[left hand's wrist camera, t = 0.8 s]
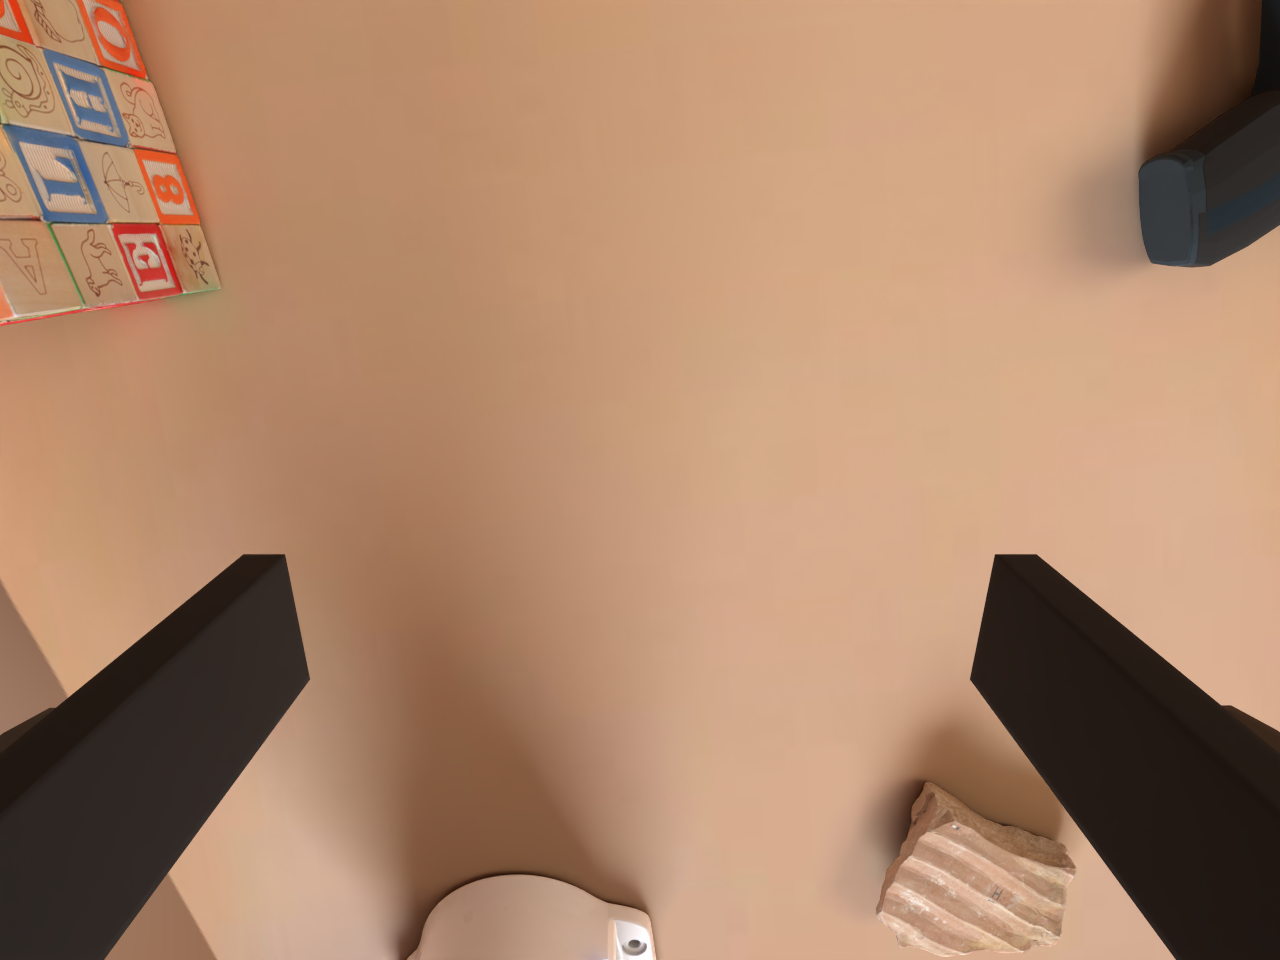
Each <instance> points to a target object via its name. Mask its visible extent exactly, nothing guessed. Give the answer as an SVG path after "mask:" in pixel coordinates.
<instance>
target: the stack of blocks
mask: <svg viewBox="0 0 1280 960" xmlns="http://www.w3.org/2000/svg"><path fill="white" fill-rule="evenodd" d="M218 289H221V283H220V281H219V278H218V275H217V272H216V269H215V266H214V263H213V260H212V258H211V255H210V252H209V249H208V246H207V243H206V240H205V237H204V234H203V232H202V229H201V227H200V218H199V215H198V212H197V209H196V206H195V204H194V201H193V198H192V195H191V192H190V189H189V186H188V183H187V181H186V178H185V175H184V172H183V169H182V167H181V164H180V161H179V158H178V157H177V155H176V150H175V146H174V143H173V140H172V137H171V134H170V131H169V128H168V126H167V123H166V120H165V117H164V114H163V111H162V108H161V105H160V103H159V100H158V97H157V94H156V91H155V89H154V86H153V84H152V83H151V82H150V81H149V80H148V77H147V75H146V70H145V66H144V64H143V62H142V60H141V57H140V54H139V52H138V49H137V45H136V42H135V39H134V37H133V34H132V31H131V28H130V25H129V23H128V20H127V17H126V14H125V11H124V8H123V6H122V5H121V3H120V2H119V0H0V326H2V325H7V324H12V323H20V322H26V321H32V320H38V319H43V318H49V317H54V316H61V315H66V314H72V313H79V312H86V311H92V310H100V309H106V308H112V307H118V306H124V305H130V304H136V303H143V302H149V301H154V300H160V299H162V298H166V297H172V296H179V295H185V294H192V293H198V292H204V291H211V290H218Z"/></svg>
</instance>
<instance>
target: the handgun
mask: <svg viewBox="0 0 1280 960" xmlns="http://www.w3.org/2000/svg"><path fill="white" fill-rule="evenodd" d="M1139 204H1140V218H1141V228H1142V235H1143V240H1144V245H1145V248H1146V251H1147V254H1148V257H1149V259H1150V261H1151V262H1152V263H1154V264H1161V265H1167V266H1180V267H1202V266H1211V265H1212V264H1214V263H1216V262H1218V261H1220V260H1222V259H1224V258H1226V257H1228V256H1230V255H1232V254H1234V253H1236V252H1238V251H1240V250H1241V249H1243V248H1245V247H1247V246H1249V245H1250V244H1252V243H1253V242H1255V241H1256V240H1258V239H1259V238H1261V237H1262V236H1264V235H1265V234H1267V233H1268V232H1270V231H1271V230H1273V229H1274V228H1276V227H1277V226H1279V225H1280V0H1262V18H1261V37H1260V57H1259V66H1258V71H1257V76H1256V80H1255V85H1254V86H1253V89H1252V92H1251V96H1250V97H1248V98H1247V99H1246V100H1245V101H1244V102H1242V103H1240V104H1239V105H1237V106H1235V107H1233V108H1232V109H1230V110H1228V111H1227V112H1225V113H1223V114H1222V115H1220V116H1219V117H1218V118H1216V119H1215V120H1213V121H1212V122H1211V123H1209V124H1208V125H1206V126H1205V127H1204V128H1202V129H1201V130H1199V131H1198V132H1197V133H1195V134H1194V135H1192V136H1191V137H1189V138H1188V139H1187V140H1185V141H1184V142H1182V143H1181V144H1180V145H1178V146H1177V147H1175V148H1174V149H1173V150H1172V151H1170V152H1169V153H1165V154H1160V155H1157V156H1155V157H1153V158H1151V159H1149V160H1147V161H1146V162H1145V163H1144V164H1143V165H1142V166H1141V168H1140V170H1139Z"/></svg>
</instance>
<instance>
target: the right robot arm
mask: <svg viewBox="0 0 1280 960" xmlns="http://www.w3.org/2000/svg"><path fill="white" fill-rule="evenodd" d="M406 960H656V953H655V947H654V941H653V934H652V928H651V922H650V918H649V916H648V915H647V914H646V913H645V912H643V911H641V910H638V909H635V908H631V907H627V906H622V905H617V904H611V903H607V902H604V901H602V900H600V899H598V898H596V897H594V896H592V895H591V894H589V893H587V892H585V891H584V890H582V889H580V888H578V887H576V886H573V885H571V884H568V883H565V882H563V881H559V880H556V879H552V878H547V877H542V876H535V875H502V876H495V877H489V878H485V879H481V880H478V881H475V882H472V883H469V884H467V885H465V886H463V887H461V888H459V889H457V890H455V891H453V892H452V893H450V894H449V895H447V896H446V897H445V898H444V899H443V900H441V901H440V902H439V903H438V904H437V905H436V907H435V908H434V909H433V910H432V912H431V913H430V915H429V916H428V918H427V920H426V922H425V925H424V928H423V932H422V936H421V941H420V944H419V946H418V948H417V949H416V950H415V951H414V952H413V953H412V954H411V955H410V956H409V957H408V958H407V959H406Z"/></svg>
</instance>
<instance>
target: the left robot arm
mask: <svg viewBox="0 0 1280 960" xmlns="http://www.w3.org/2000/svg"><path fill="white" fill-rule="evenodd" d="M309 680H310V677H309V672H308V667H307V662H306V657H305V652H304V647H303V642H302V637H301V632H300V627H299V622H298V617H297V612H296V607H295V602H294V597H293V592H292V587H291V582H290V577H289V572H288V567H287V562H286V557H285V554H243V555H242V556H241V557H240V558H239V559H237V560H236V561H235V562H234V563H232V564H231V565H230V566H229V567H228V568H226V569H225V570H224V571H223V572H221V573H220V574H219V575H218V576H217V577H215V578H214V579H213V580H212V581H210V582H209V583H208V584H207V585H206V586H204V587H203V588H202V589H201V590H199V591H198V592H197V593H196V594H195V595H193V596H192V597H191V598H190V599H188V600H187V601H186V602H185V603H184V604H182V605H181V606H180V607H179V608H177V609H176V610H175V611H174V612H173V613H171V614H170V615H169V616H168V617H166V618H165V619H164V620H163V621H162V622H160V623H159V624H158V625H157V626H155V627H154V628H153V629H152V630H151V631H149V632H148V633H147V634H146V635H144V636H143V637H142V638H141V639H140V640H138V641H137V642H136V643H135V644H133V645H132V646H131V647H130V648H129V649H127V650H126V651H125V652H124V653H122V654H121V655H120V656H119V657H118V658H116V659H115V660H114V661H113V662H111V663H110V664H109V665H108V666H107V667H105V668H104V669H103V670H102V671H100V672H99V673H98V674H97V675H96V676H94V677H93V678H92V679H91V680H89V681H88V682H87V683H86V684H85V685H83V686H82V687H81V688H80V689H78V690H77V691H76V692H75V693H74V694H72V695H71V696H70V697H69V698H67V699H66V700H65V701H64V702H63V703H61V704H60V705H59V706H58V707H56V708H49V709H47V710H45V711H43V712H41V713H40V714H38V715H36V716H34V717H32V718H30V719H29V720H27V721H25V722H23V723H21V724H19V725H17V726H16V727H14V728H12V729H10V730H8V731H6V732H5V733H3V734H2V735H0V960H104V959H105V958H106V956H107V955H108V954H109V952H110V951H111V949H112V948H113V947H114V945H115V944H116V943H117V941H118V940H119V939H120V937H121V936H122V934H123V933H124V932H125V930H126V929H127V928H128V926H129V925H130V924H131V922H132V921H133V920H134V918H135V917H136V915H137V914H138V913H139V911H140V910H141V909H142V907H143V906H144V905H145V903H146V902H147V900H148V899H149V898H150V896H151V895H152V894H153V892H154V891H155V890H156V888H157V887H158V885H159V884H160V883H161V881H162V880H163V879H164V877H165V876H166V875H167V873H168V872H169V871H170V869H171V868H172V866H173V865H174V864H175V862H176V861H177V860H178V858H179V857H180V856H181V854H182V853H183V851H184V850H185V849H186V847H187V846H188V845H189V843H190V842H191V841H192V839H193V838H194V836H195V835H196V834H197V832H198V831H199V830H200V828H201V827H202V826H203V824H204V823H205V822H206V820H207V819H208V817H209V816H210V815H211V813H212V812H213V811H214V809H215V808H216V807H217V805H218V804H219V802H220V801H221V800H222V798H223V797H224V796H225V794H226V793H227V792H228V790H229V789H230V787H231V786H232V785H233V783H234V782H235V781H236V779H237V778H238V777H239V775H240V774H241V773H242V771H243V770H244V768H245V767H246V766H247V764H248V763H249V762H250V760H251V759H252V758H253V756H254V755H255V753H256V752H257V751H258V749H259V748H260V747H261V745H262V744H263V743H264V741H265V740H266V738H267V737H268V736H269V734H270V733H271V732H272V730H273V729H274V728H275V726H276V725H277V724H278V722H279V721H280V719H281V718H282V717H283V715H284V714H285V713H286V711H287V710H288V709H289V707H290V706H291V704H292V703H293V702H294V700H295V699H296V698H297V696H298V695H299V694H300V692H301V691H302V689H303V688H304V687H305V685H306V684H307V683H308V681H309ZM970 680H971V681H972V683H973V684H974V685H975V687H976V688H977V689H978V691H979V692H980V694H981V695H982V696H983V698H984V699H985V700H986V702H987V703H988V704H989V706H990V707H991V709H992V710H993V711H994V713H995V714H996V715H997V717H998V718H999V719H1000V721H1001V722H1002V724H1003V725H1004V726H1005V728H1006V729H1007V730H1008V732H1009V733H1010V734H1011V736H1012V737H1013V738H1014V740H1015V741H1016V743H1017V744H1018V745H1019V747H1020V748H1021V749H1022V751H1023V752H1024V753H1025V755H1026V756H1027V758H1028V759H1029V760H1030V762H1031V763H1032V764H1033V766H1034V767H1035V768H1036V770H1037V771H1038V773H1039V774H1040V775H1041V777H1042V778H1043V779H1044V781H1045V782H1046V783H1047V785H1048V786H1049V787H1050V789H1051V790H1052V792H1053V793H1054V794H1055V796H1056V797H1057V798H1058V800H1059V801H1060V802H1061V804H1062V805H1063V807H1064V808H1065V809H1066V811H1067V812H1068V813H1069V815H1070V816H1071V817H1072V819H1073V820H1074V822H1075V823H1076V824H1077V826H1078V827H1079V828H1080V830H1081V831H1082V832H1083V834H1084V835H1085V836H1086V838H1087V839H1088V841H1089V842H1090V843H1091V845H1092V846H1093V847H1094V849H1095V850H1096V851H1097V853H1098V854H1099V856H1100V857H1101V858H1102V860H1103V861H1104V862H1105V864H1106V865H1107V866H1108V868H1109V869H1110V871H1111V872H1112V873H1113V875H1114V876H1115V877H1116V879H1117V880H1118V881H1119V883H1120V884H1121V886H1122V887H1123V888H1124V890H1125V891H1126V892H1127V894H1128V895H1129V896H1130V898H1131V899H1132V900H1133V902H1134V903H1135V905H1136V906H1137V907H1138V909H1139V910H1140V911H1141V913H1142V914H1143V915H1144V917H1145V918H1146V920H1147V921H1148V922H1149V924H1150V925H1151V926H1152V928H1153V929H1154V930H1155V932H1156V933H1157V935H1158V936H1159V937H1160V939H1161V940H1162V941H1163V943H1164V944H1165V945H1166V947H1167V948H1168V949H1169V951H1170V952H1171V954H1172V955H1173V956H1174V958H1175V959H1176V960H1280V732H1279V731H1277V730H1275V729H1274V728H1272V727H1270V726H1268V725H1266V724H1264V723H1263V722H1261V721H1259V720H1257V719H1255V718H1253V717H1251V716H1250V715H1248V714H1246V713H1244V712H1242V711H1240V710H1238V709H1237V708H1235V707H1233V706H1221V705H1220V704H1219V703H1217V702H1216V701H1215V700H1214V699H1213V698H1211V697H1210V696H1209V695H1208V694H1206V693H1205V692H1204V691H1203V690H1202V689H1200V688H1199V687H1198V686H1197V685H1195V684H1194V683H1193V682H1192V681H1191V680H1189V679H1188V678H1187V677H1186V676H1184V675H1183V674H1182V673H1181V672H1180V671H1178V670H1177V669H1176V668H1175V667H1173V666H1172V665H1171V664H1170V663H1169V662H1167V661H1166V660H1165V659H1164V658H1162V657H1161V656H1160V655H1159V654H1158V653H1156V652H1155V651H1154V650H1153V649H1151V648H1150V647H1149V646H1148V645H1147V644H1145V643H1144V642H1143V641H1142V640H1140V639H1139V638H1138V637H1137V636H1136V635H1134V634H1133V633H1132V632H1131V631H1129V630H1128V629H1127V628H1126V627H1125V626H1123V625H1122V624H1121V623H1120V622H1118V621H1117V620H1116V619H1115V618H1114V617H1112V616H1111V615H1110V614H1109V613H1107V612H1106V611H1105V610H1104V609H1103V608H1101V607H1100V606H1099V605H1098V604H1096V603H1095V602H1094V601H1093V600H1092V599H1090V598H1089V597H1088V596H1087V595H1085V594H1084V593H1083V592H1082V591H1081V590H1079V589H1078V588H1077V587H1076V586H1074V585H1073V584H1072V583H1071V582H1070V581H1068V580H1067V579H1066V578H1065V577H1063V576H1062V575H1061V574H1060V573H1059V572H1057V571H1056V570H1055V569H1054V568H1052V567H1051V566H1050V565H1049V564H1048V563H1046V562H1045V561H1044V560H1043V559H1041V558H1040V557H1039V556H1038V555H1037V554H995V557H994V562H993V567H992V572H991V577H990V582H989V587H988V592H987V597H986V602H985V607H984V612H983V617H982V622H981V627H980V632H979V637H978V642H977V647H976V652H975V657H974V662H973V667H972V672H971V677H970Z"/></svg>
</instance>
